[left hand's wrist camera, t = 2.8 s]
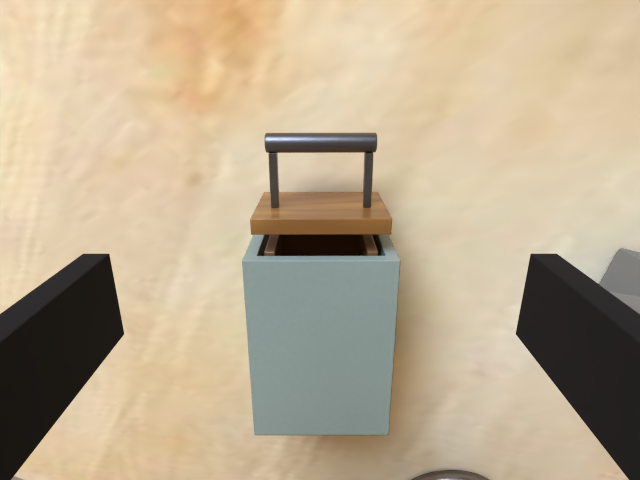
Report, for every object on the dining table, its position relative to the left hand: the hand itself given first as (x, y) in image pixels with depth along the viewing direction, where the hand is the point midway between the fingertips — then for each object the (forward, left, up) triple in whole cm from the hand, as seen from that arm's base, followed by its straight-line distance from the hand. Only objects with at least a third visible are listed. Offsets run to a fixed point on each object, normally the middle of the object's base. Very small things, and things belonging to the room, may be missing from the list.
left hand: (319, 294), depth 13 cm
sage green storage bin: (-6, +12, -26) cm, 29 cm away
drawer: (-3, +7, -25) cm, 26 cm away
